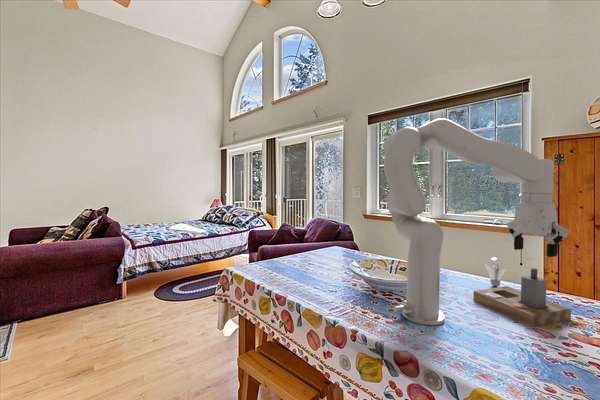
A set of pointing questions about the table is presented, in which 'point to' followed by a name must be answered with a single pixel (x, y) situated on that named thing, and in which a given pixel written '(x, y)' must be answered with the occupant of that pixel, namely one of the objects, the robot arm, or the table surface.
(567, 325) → the table surface
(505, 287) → the socket block
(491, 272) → the light bulb
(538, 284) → the plug
